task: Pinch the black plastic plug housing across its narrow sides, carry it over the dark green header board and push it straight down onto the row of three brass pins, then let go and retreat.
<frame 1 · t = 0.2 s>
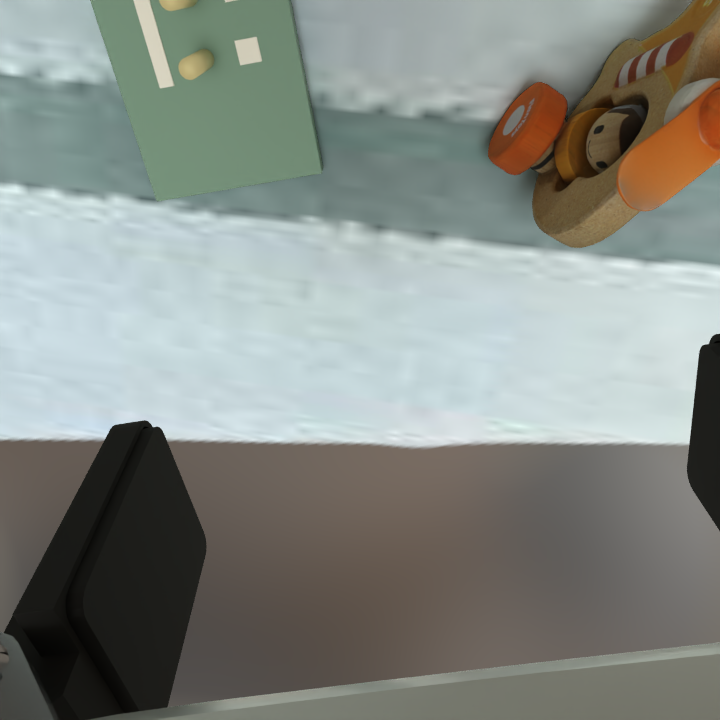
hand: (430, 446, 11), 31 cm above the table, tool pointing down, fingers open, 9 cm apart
toy helicopter: (627, 58, 37), on the table
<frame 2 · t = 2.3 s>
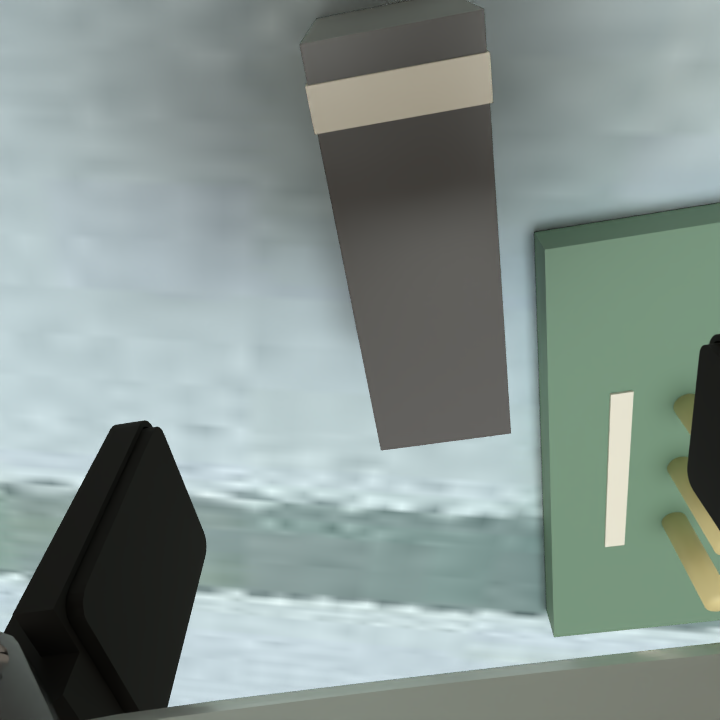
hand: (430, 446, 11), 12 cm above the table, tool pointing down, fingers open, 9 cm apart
header board: (665, 441, 27), on the table
plug housing: (408, 194, 21), on the table
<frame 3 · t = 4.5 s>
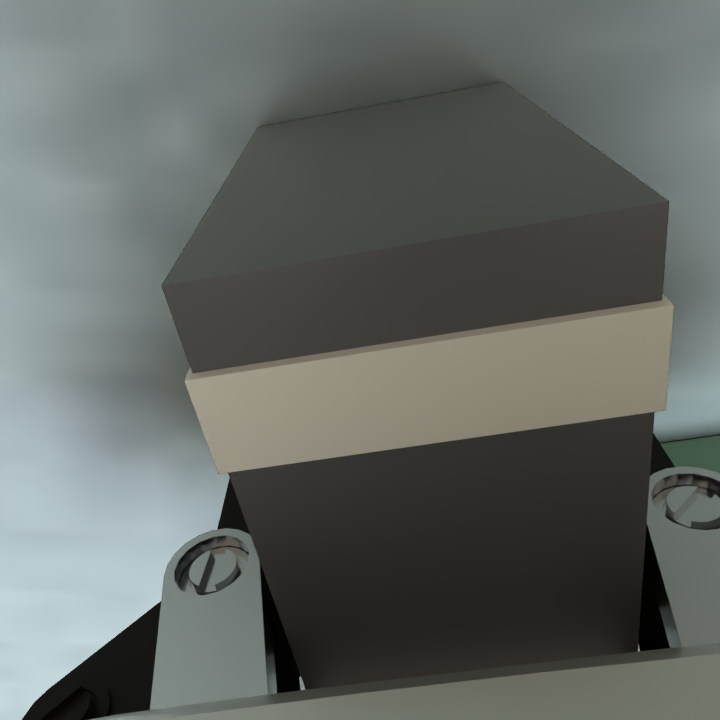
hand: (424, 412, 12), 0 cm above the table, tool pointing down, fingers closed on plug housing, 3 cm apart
plug housing: (422, 398, 13), on the table, touching gripper
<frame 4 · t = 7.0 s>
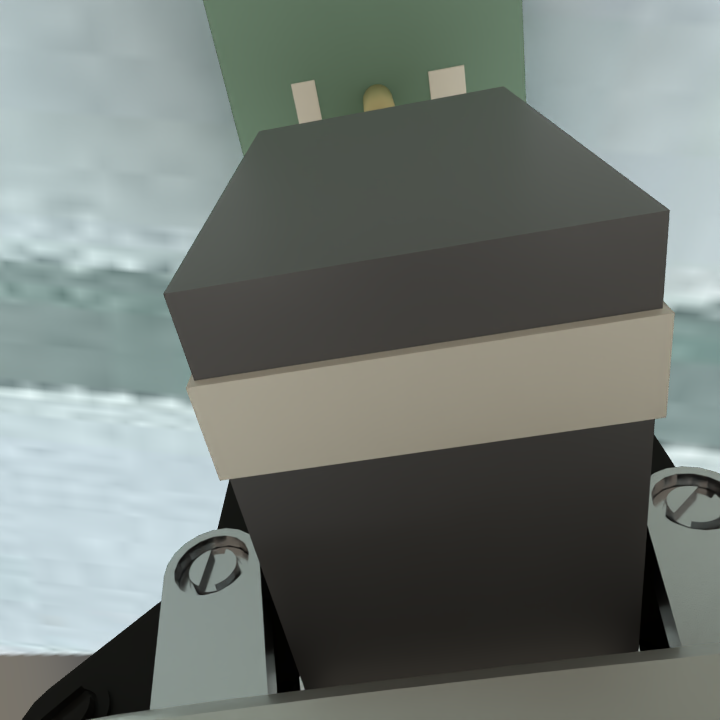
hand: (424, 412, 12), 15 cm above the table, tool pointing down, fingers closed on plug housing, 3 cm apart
header board: (388, 174, 25), on the table
plug housing: (423, 401, 13), point 15 cm above the table, touching gripper
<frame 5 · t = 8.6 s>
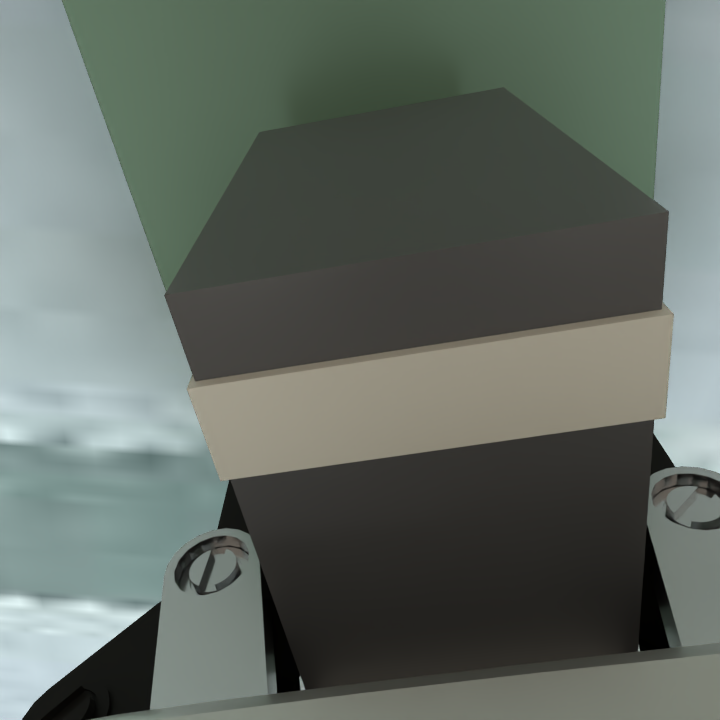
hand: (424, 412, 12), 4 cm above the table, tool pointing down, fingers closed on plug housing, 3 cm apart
header board: (410, 309, 16), on the table
plug housing: (423, 401, 13), point 3 cm above the table, touching gripper
when the fingers open (3 cm above the table, at t = 9.8 s): plug housing stays where it is, resting on header board.
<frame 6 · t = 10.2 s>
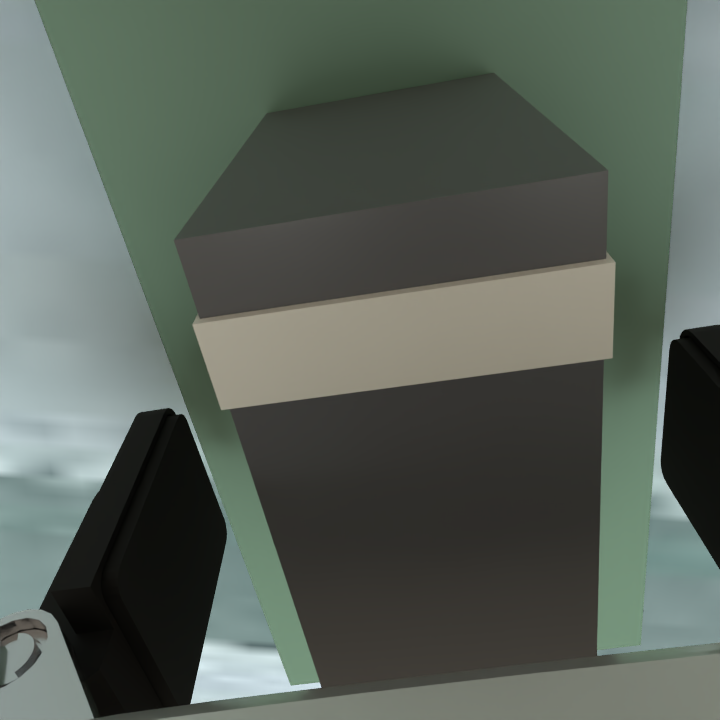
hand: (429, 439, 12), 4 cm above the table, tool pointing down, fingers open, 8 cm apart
header board: (412, 337, 15), on the table
plug housing: (418, 372, 14), point 2 cm above the table, touching header board
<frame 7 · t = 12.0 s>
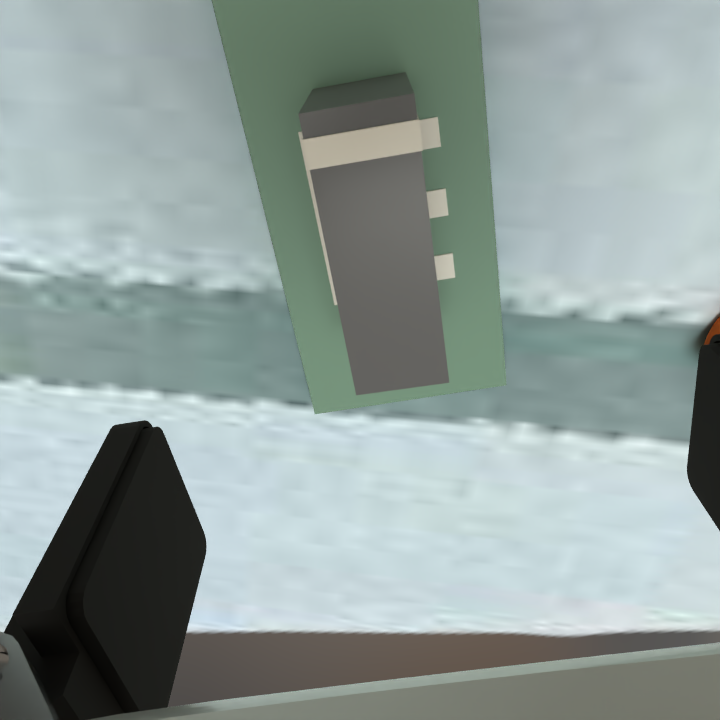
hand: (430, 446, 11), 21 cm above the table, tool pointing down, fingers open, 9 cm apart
header board: (378, 203, 30), on the table
plug housing: (379, 213, 29), point 2 cm above the table, touching header board
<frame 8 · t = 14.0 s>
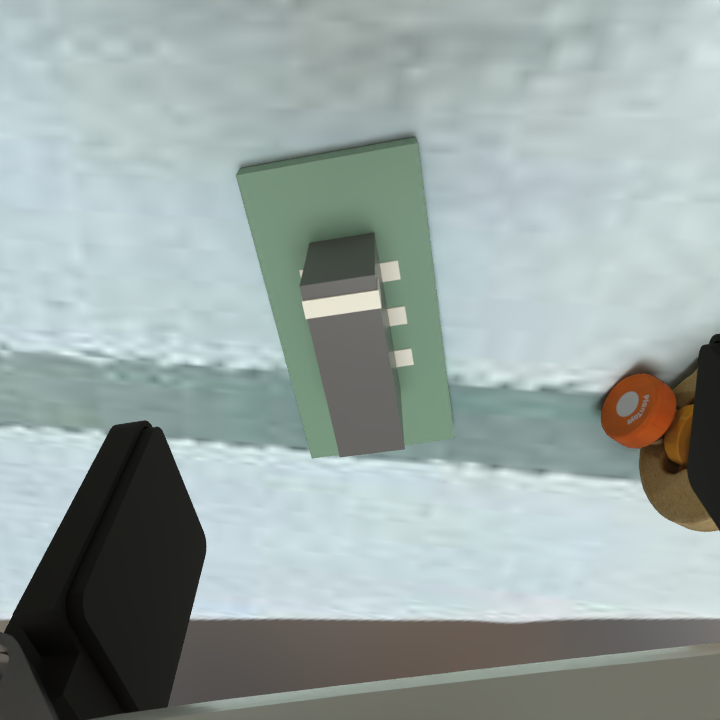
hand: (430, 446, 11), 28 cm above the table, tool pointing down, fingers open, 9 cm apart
header board: (357, 311, 42), on the table
plug housing: (357, 321, 40), point 2 cm above the table, touching header board
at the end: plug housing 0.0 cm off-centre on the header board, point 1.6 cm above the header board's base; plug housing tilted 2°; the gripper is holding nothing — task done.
